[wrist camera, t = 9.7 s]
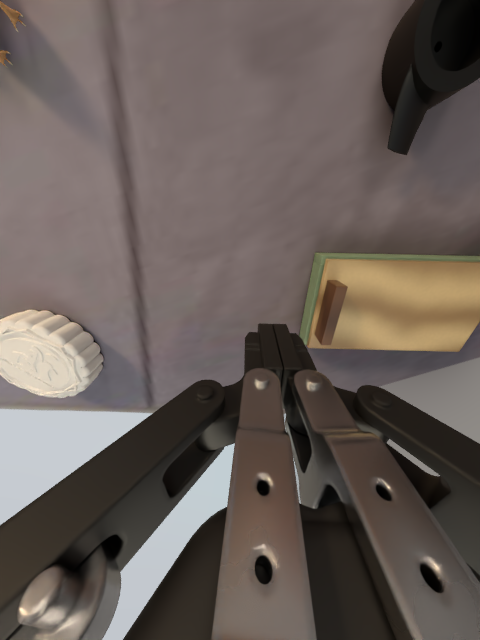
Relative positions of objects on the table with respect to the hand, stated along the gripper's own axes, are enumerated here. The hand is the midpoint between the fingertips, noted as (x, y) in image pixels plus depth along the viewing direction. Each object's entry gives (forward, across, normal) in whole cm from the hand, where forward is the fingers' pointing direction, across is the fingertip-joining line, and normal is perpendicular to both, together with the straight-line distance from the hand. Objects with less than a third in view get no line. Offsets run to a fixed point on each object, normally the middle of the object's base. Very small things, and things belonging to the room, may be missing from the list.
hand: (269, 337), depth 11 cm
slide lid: (+9, -14, +2) cm, 17 cm away
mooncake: (+11, +26, +10) cm, 30 cm away
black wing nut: (+12, -11, -16) cm, 23 cm away
